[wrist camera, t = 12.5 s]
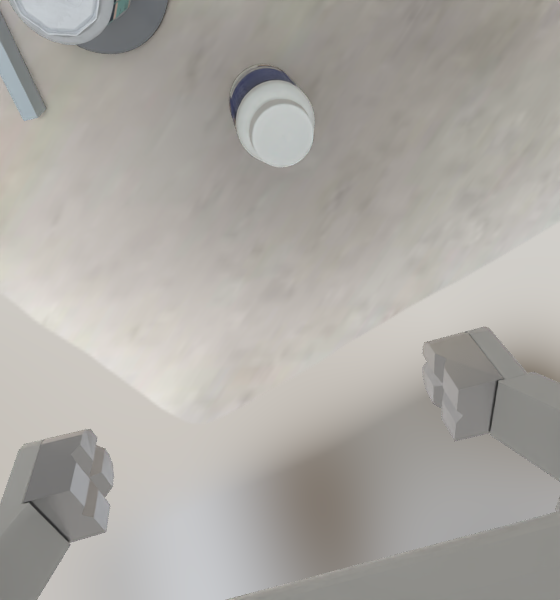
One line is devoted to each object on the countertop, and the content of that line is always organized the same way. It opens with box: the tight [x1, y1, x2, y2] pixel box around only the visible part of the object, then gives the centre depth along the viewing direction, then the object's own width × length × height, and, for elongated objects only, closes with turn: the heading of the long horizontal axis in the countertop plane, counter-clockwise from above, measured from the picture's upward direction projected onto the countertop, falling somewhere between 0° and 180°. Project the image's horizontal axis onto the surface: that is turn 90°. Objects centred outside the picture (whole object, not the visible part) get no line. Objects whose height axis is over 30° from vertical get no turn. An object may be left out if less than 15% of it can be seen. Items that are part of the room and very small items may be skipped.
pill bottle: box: [229, 64, 315, 167], centre depth 33 cm, size 5×5×10 cm
